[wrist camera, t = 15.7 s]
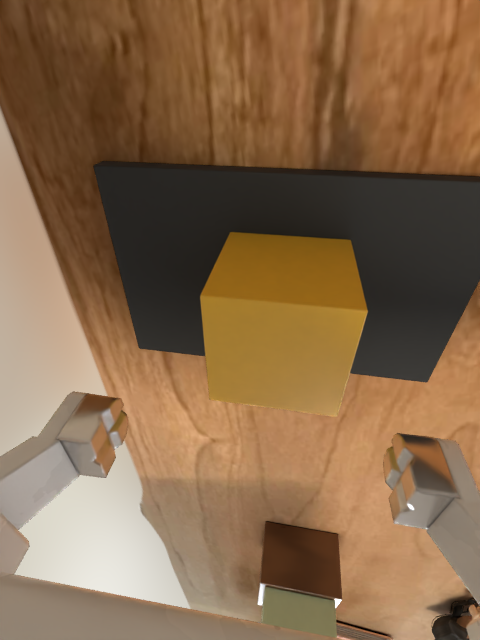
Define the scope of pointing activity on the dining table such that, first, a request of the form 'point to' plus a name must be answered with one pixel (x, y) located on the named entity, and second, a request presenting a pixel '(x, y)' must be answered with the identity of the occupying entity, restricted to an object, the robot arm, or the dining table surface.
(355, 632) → the notebook
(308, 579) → the base block
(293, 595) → the middle block
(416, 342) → the mat
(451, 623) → the toy figure
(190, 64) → the dining table surface
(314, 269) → the top block
